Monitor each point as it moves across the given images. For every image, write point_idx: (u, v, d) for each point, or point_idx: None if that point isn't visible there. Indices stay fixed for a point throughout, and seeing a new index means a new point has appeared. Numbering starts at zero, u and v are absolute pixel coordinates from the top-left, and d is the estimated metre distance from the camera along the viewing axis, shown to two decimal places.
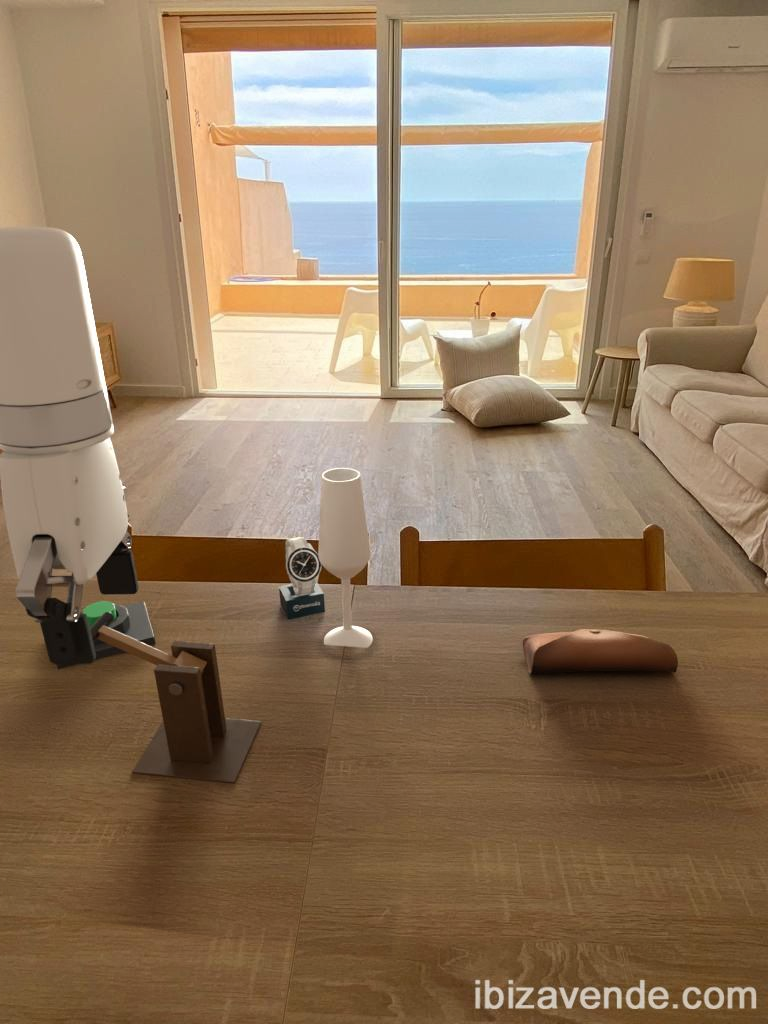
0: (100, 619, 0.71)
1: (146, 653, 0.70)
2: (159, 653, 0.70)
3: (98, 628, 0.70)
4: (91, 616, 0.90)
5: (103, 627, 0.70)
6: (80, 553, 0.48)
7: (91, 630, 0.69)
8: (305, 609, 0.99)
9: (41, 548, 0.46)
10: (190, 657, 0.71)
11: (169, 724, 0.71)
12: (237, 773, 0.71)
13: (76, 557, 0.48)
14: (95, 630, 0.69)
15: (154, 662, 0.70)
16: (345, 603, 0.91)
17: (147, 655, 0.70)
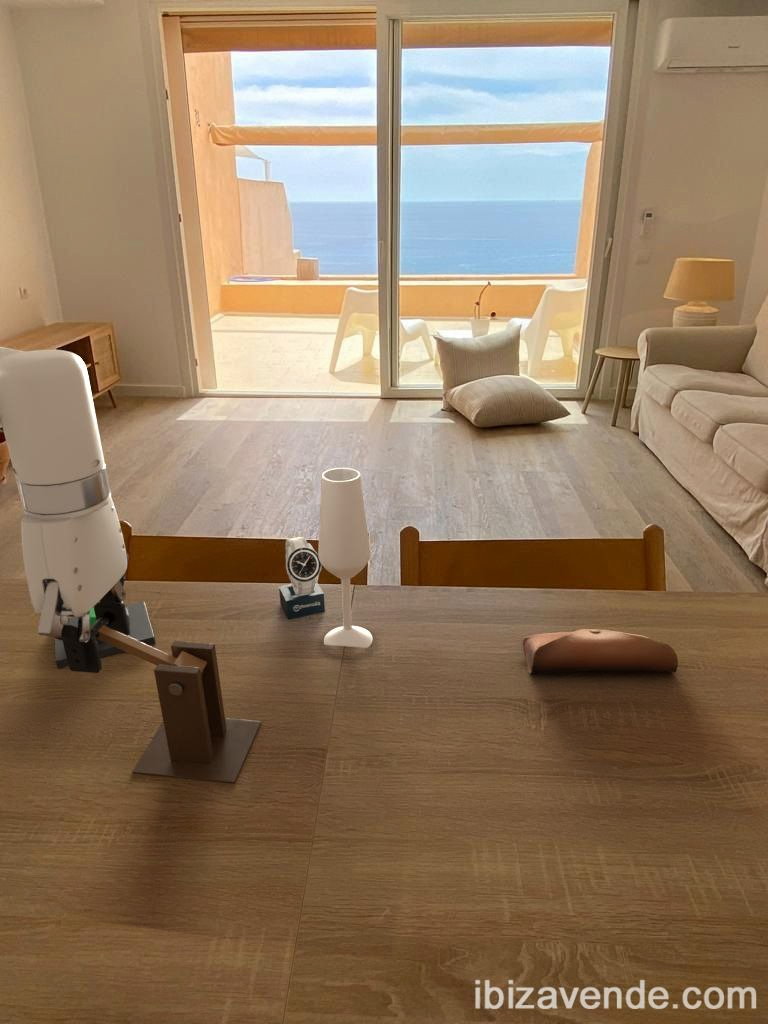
0: (100, 619, 0.71)
1: (146, 653, 0.70)
2: (159, 653, 0.70)
3: (98, 628, 0.70)
4: (91, 616, 0.90)
5: (103, 627, 0.70)
6: (77, 594, 0.63)
7: (91, 630, 0.69)
8: (305, 609, 0.99)
9: (52, 595, 0.62)
10: (190, 657, 0.71)
11: (169, 724, 0.71)
12: (237, 773, 0.71)
13: (74, 597, 0.63)
14: (95, 630, 0.69)
15: (154, 662, 0.70)
16: (345, 603, 0.91)
17: (147, 655, 0.70)
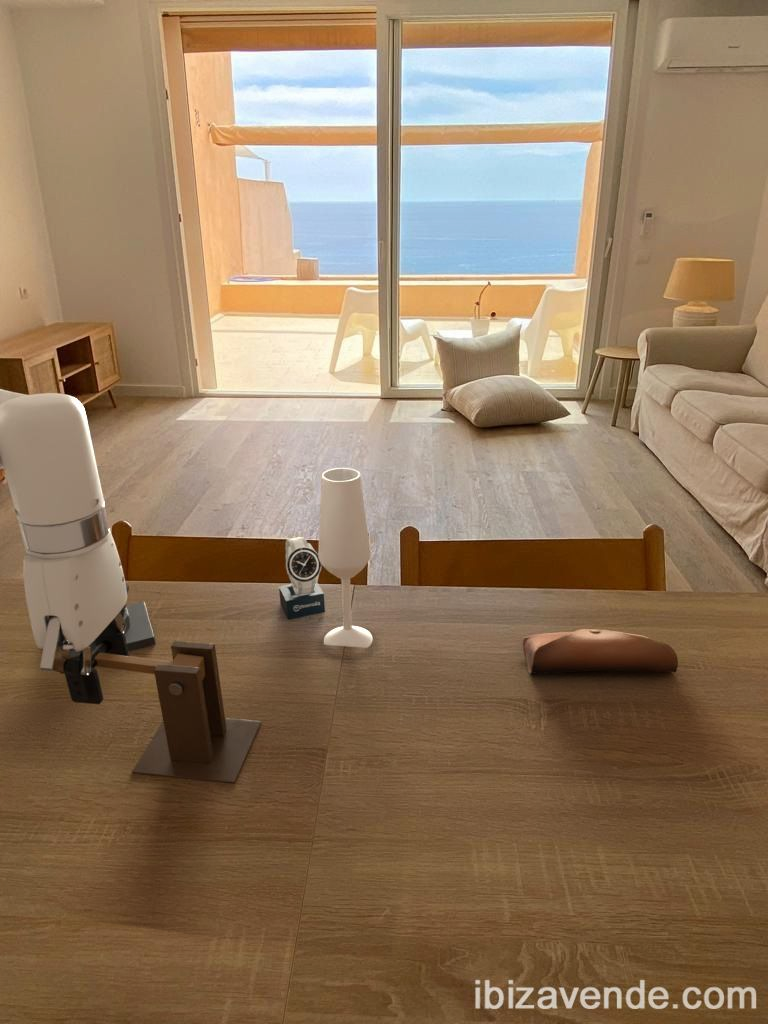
0: (96, 648, 0.72)
1: (144, 665, 0.70)
2: (156, 662, 0.71)
3: (95, 656, 0.71)
4: None
5: (100, 654, 0.72)
6: (78, 629, 0.64)
7: None
8: (305, 609, 0.99)
9: (53, 631, 0.64)
10: (186, 657, 0.71)
11: (169, 724, 0.71)
12: (237, 773, 0.71)
13: (75, 632, 0.64)
14: (91, 658, 0.71)
15: None
16: (345, 603, 0.91)
17: (145, 667, 0.70)
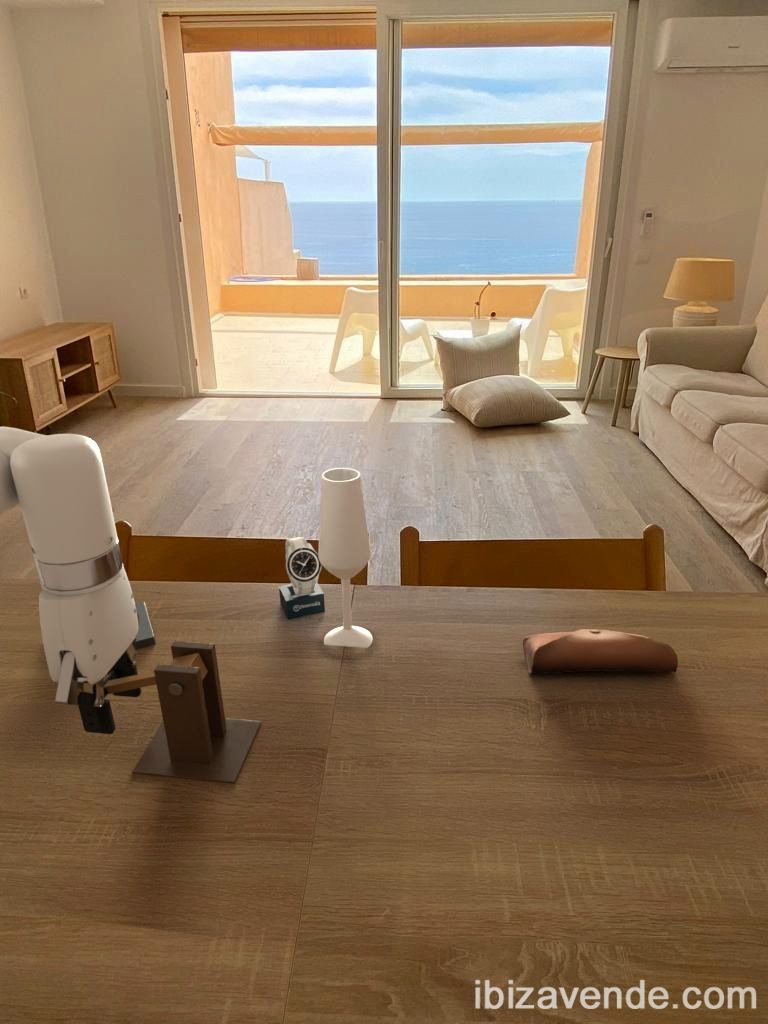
0: None
1: (147, 678, 0.71)
2: None
3: (104, 685, 0.73)
4: None
5: (108, 682, 0.73)
6: (92, 664, 0.66)
7: None
8: (305, 609, 0.99)
9: (68, 666, 0.65)
10: (182, 658, 0.71)
11: (169, 724, 0.71)
12: (237, 773, 0.71)
13: (89, 667, 0.66)
14: None
15: None
16: (345, 603, 0.91)
17: (148, 680, 0.71)
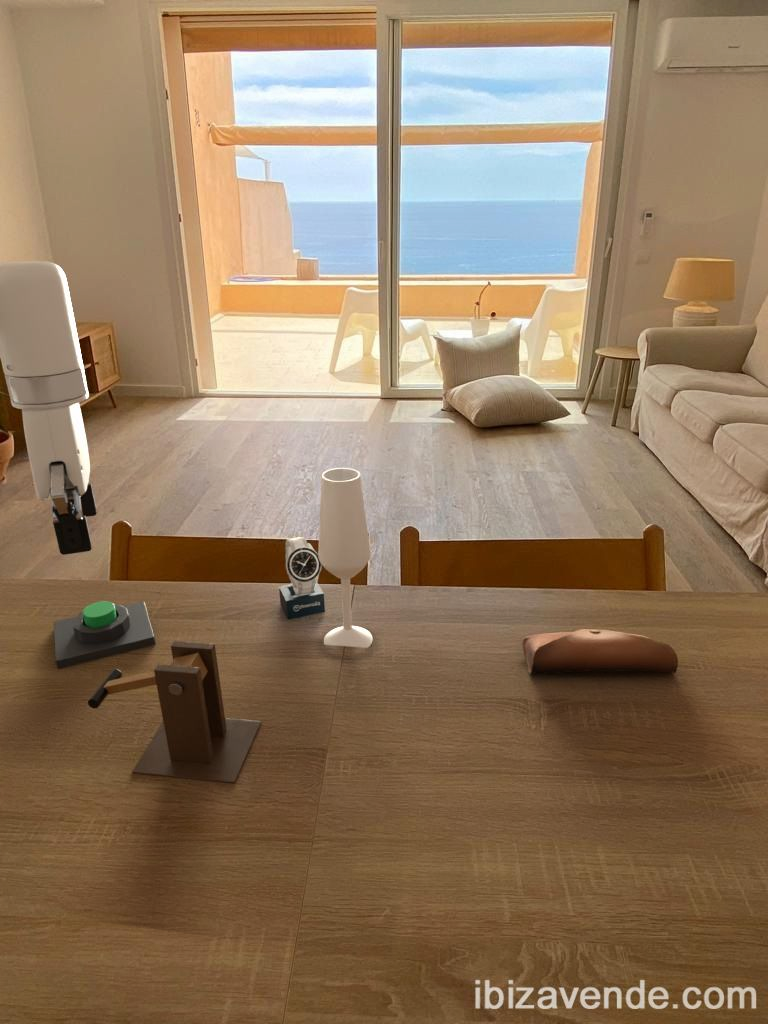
0: (106, 678, 0.74)
1: (147, 679, 0.71)
2: None
3: (104, 685, 0.73)
4: (91, 616, 0.90)
5: (108, 682, 0.73)
6: (81, 473, 0.73)
7: (97, 689, 0.72)
8: (305, 609, 0.99)
9: (58, 469, 0.71)
10: (182, 658, 0.71)
11: (169, 724, 0.71)
12: (237, 773, 0.71)
13: (79, 475, 0.73)
14: (100, 688, 0.72)
15: None
16: (345, 603, 0.91)
17: (149, 680, 0.71)
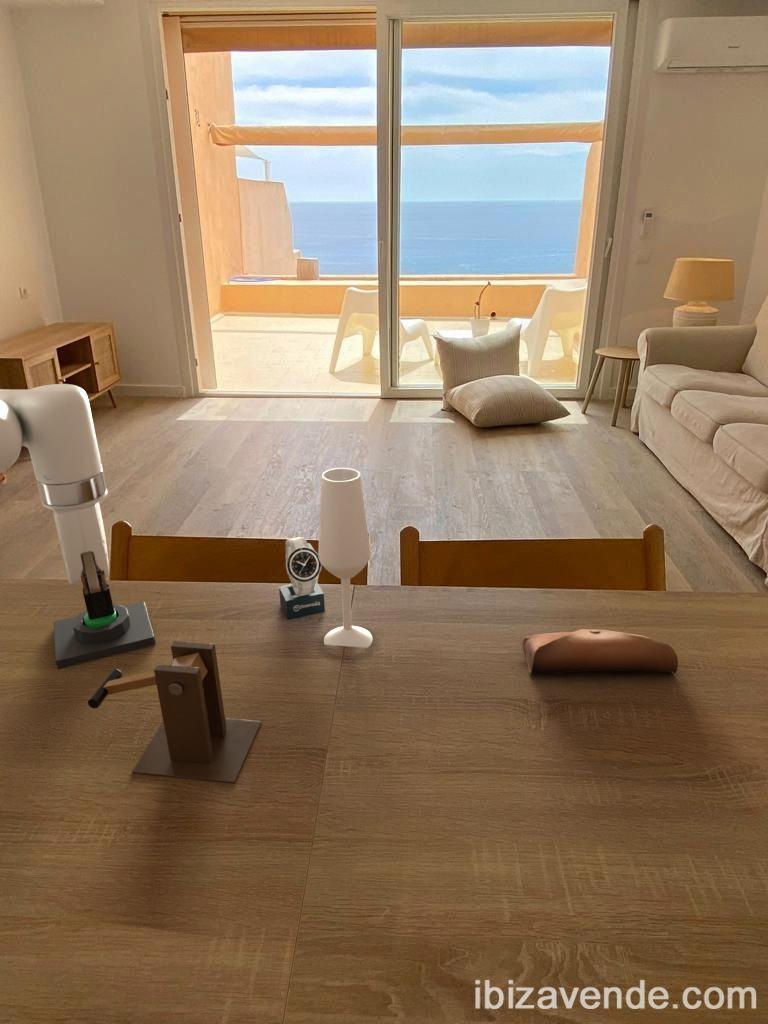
0: (106, 678, 0.74)
1: (147, 679, 0.71)
2: None
3: (104, 685, 0.73)
4: (93, 622, 0.91)
5: (108, 682, 0.73)
6: (106, 559, 0.85)
7: (97, 689, 0.72)
8: (305, 609, 0.99)
9: (91, 566, 0.85)
10: (182, 658, 0.71)
11: (169, 724, 0.71)
12: (237, 773, 0.71)
13: (105, 561, 0.85)
14: (100, 688, 0.72)
15: None
16: (345, 603, 0.91)
17: (149, 680, 0.71)
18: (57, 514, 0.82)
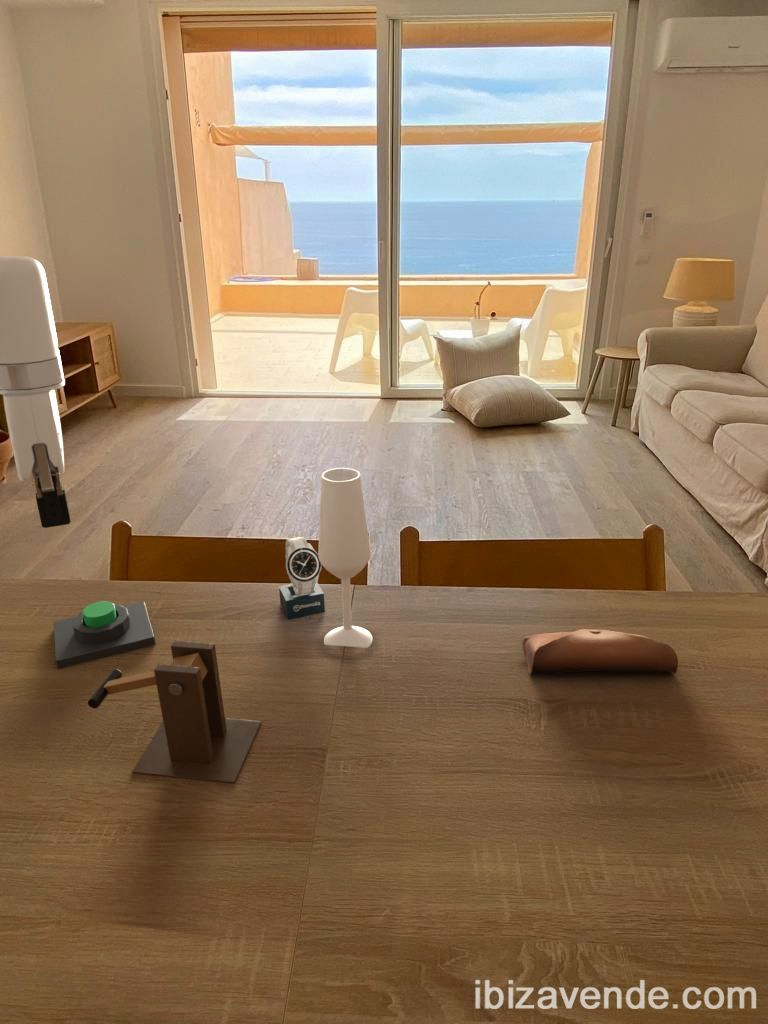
0: (106, 678, 0.74)
1: (147, 679, 0.71)
2: None
3: (104, 685, 0.73)
4: (91, 616, 0.90)
5: (108, 682, 0.73)
6: (61, 454, 0.78)
7: (97, 689, 0.72)
8: (305, 609, 0.99)
9: (43, 461, 0.77)
10: (182, 658, 0.71)
11: (169, 724, 0.71)
12: (237, 773, 0.71)
13: (60, 457, 0.78)
14: (100, 688, 0.72)
15: None
16: (345, 603, 0.91)
17: (149, 680, 0.71)
18: (6, 398, 0.74)
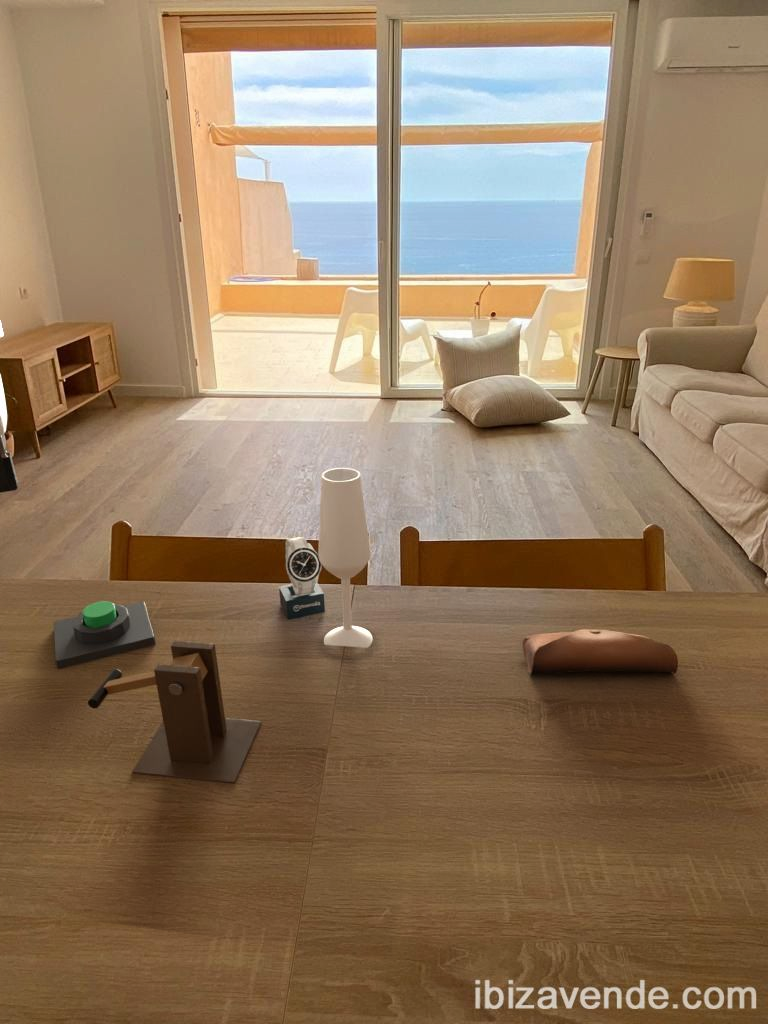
0: (106, 678, 0.74)
1: (147, 679, 0.71)
2: None
3: (104, 685, 0.73)
4: (91, 616, 0.90)
5: (108, 682, 0.73)
6: (0, 411, 0.71)
7: (97, 689, 0.72)
8: (305, 609, 0.99)
9: None
10: (182, 658, 0.71)
11: (169, 724, 0.71)
12: (237, 773, 0.71)
13: None
14: (100, 688, 0.72)
15: None
16: (345, 603, 0.91)
17: (149, 680, 0.71)
18: None
